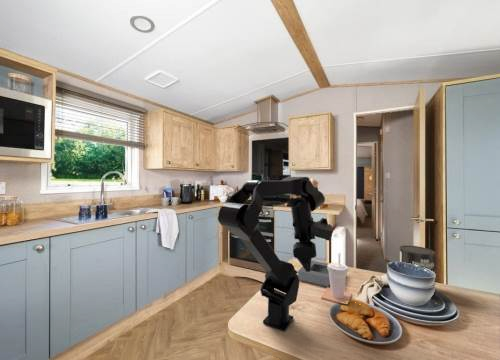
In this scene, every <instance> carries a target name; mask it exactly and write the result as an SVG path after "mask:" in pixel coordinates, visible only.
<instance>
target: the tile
mask: <svg viewBox="0 0 500 360" xmlns="http://www.w3.org/2000/svg"><path fill="white" fill-rule="evenodd" d="M352 295H353V294H352V292H349V291H345V290H344V296H343V298H341V299H338V298H334V297H333V296H332V295H331V288H328V287H325V290H324V292H323V294H322V295H321V297H320V298H321V299H322V300H326V301H329V302H333V303H336V304H338V303H337V302H346V301H349V302H350V301H351V298H352Z"/></svg>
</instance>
